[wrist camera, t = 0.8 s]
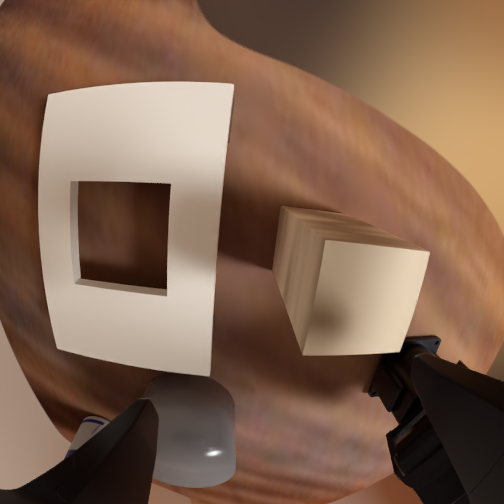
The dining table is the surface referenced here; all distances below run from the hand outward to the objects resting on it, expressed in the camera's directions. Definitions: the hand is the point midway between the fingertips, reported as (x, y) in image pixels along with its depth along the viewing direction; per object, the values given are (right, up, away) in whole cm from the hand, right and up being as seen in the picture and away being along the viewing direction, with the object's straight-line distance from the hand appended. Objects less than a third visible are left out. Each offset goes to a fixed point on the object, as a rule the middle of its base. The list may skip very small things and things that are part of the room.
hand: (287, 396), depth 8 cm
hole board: (-9, +6, +10) cm, 15 cm away
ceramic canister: (-7, -9, +15) cm, 19 cm away
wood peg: (+3, +5, +11) cm, 13 cm away
